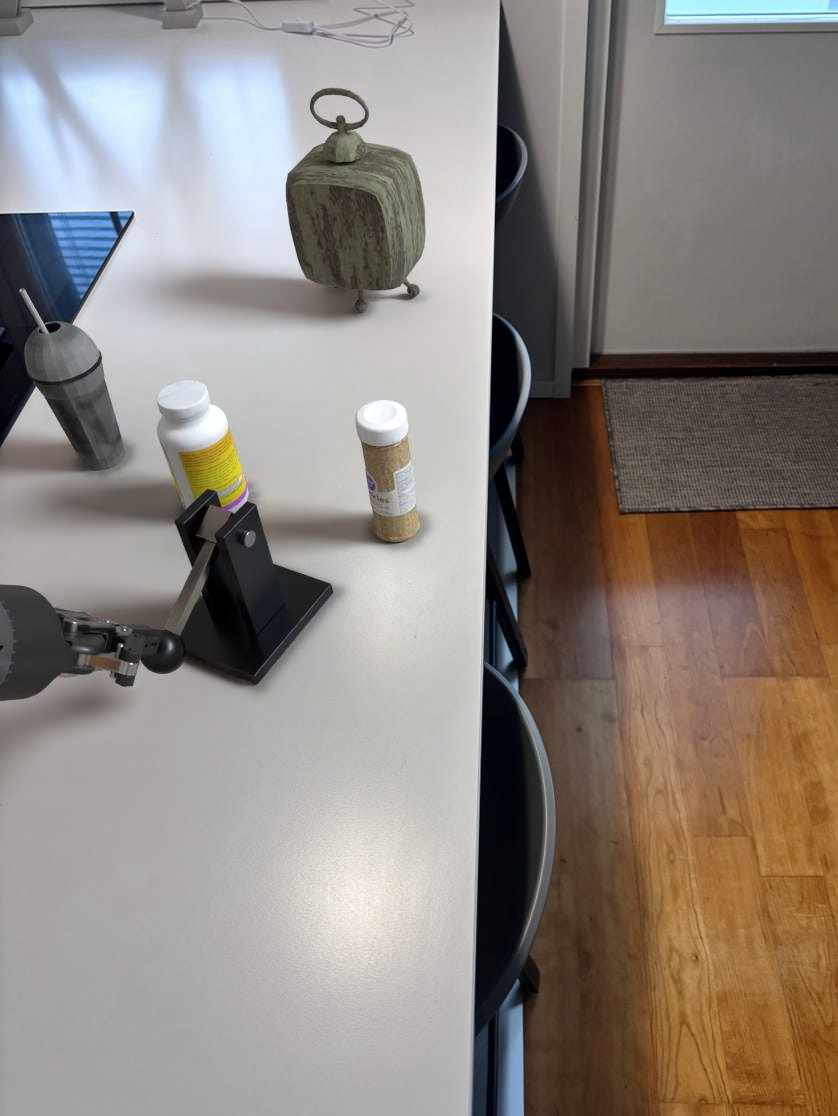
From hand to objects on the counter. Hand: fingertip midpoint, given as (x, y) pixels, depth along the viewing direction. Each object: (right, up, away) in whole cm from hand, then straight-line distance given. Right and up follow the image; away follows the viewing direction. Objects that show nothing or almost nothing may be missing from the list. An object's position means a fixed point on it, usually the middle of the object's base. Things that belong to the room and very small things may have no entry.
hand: (151, 639), depth 77 cm
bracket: (+5, +2, +12) cm, 13 cm away
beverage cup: (-15, +20, +29) cm, 38 cm away
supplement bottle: (-1, +14, +23) cm, 27 cm away
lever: (+3, +3, +4) cm, 6 cm away
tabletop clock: (+11, +42, +48) cm, 65 cm away
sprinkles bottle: (+18, +11, +19) cm, 28 cm away
